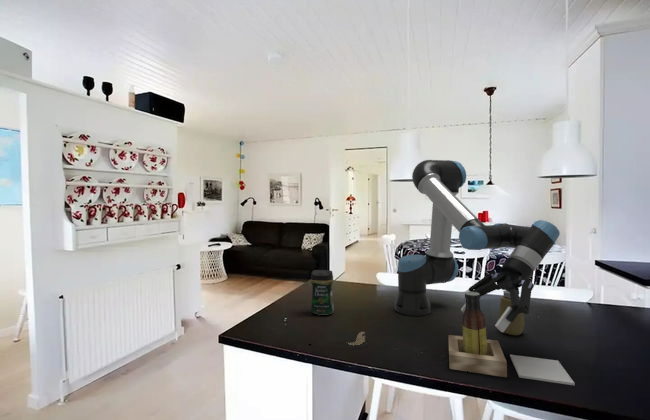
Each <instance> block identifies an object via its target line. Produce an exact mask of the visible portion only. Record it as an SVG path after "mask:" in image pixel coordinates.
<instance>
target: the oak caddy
mask: <svg viewBox="0 0 650 420" xmlns="http://www.w3.org/2000/svg"><path fill="white" fill-rule="evenodd" d="M486 340H487V356H486V355H479V354H471V353H464V346H463V335H455V334H454V335H453V334H452V335H451V334H448V361H449V362H448V363H449V364H448V365H449V369H450V370H454V371H461V372H467V371H468V372H469V373H475V374H481V375H487V376H488V375H489V376H494V377H501V378H508V368H507V367H508V364H507V363H508V362H507V359H506V357H505V355H504V352H503V349H502V347H501V345H500V342H499V339H498V340H496V339H487V338H486Z"/></svg>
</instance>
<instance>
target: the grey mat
mask: <svg viewBox="0 0 650 420" xmlns="http://www.w3.org/2000/svg"><path fill="white" fill-rule="evenodd" d="M509 357H510V360H511V362H512V364H513V367H514V368H515V372H516V374H517V375H518V378H521V379H528V380H534V381H541V382H546V383H547V382H548V383H555V384H560V385H561V384H562V385H567V386H568V385H569V386H575V381H574V380H573V379H572V378H571V376H570V374H568V372H567V370H566V369H565V368H564V367H563V365H562V364H561V362H560V361H559V360H557V359H555V360H554V359H548V358H541V357H533V356H524V355H515V354H509Z"/></svg>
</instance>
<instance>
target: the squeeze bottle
mask: <svg viewBox="0 0 650 420" xmlns="http://www.w3.org/2000/svg"><path fill="white" fill-rule="evenodd" d="M519 299H520V297H519ZM499 302H500V303H499V312H498V320H499V319H500V318H501V316H502V315H503V313H504V312H505V311H506V309H507V308H508V307H511V306H512V304H511V297H510V292H508V291H507V290H503V296H500V301H499ZM510 305H511V306H510ZM511 308H512V307H511ZM524 328H525V316H524V313H520V314H518V315H517V317H516V318H515V319H514V321H513V322H510V324H509V325H508V326H507V328H506V329H505V331H504V332H503V333H504V334H508V335H511V336H520V335H522V333H523V330H524Z"/></svg>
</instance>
